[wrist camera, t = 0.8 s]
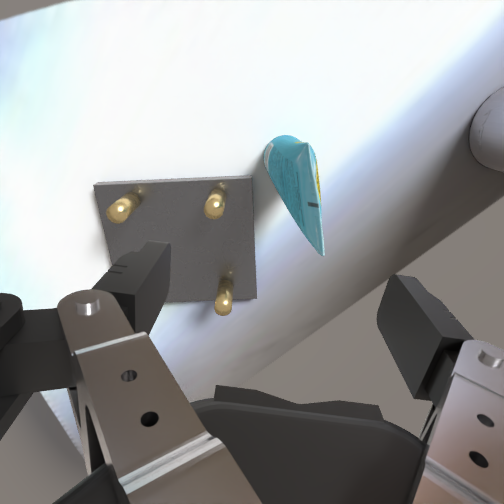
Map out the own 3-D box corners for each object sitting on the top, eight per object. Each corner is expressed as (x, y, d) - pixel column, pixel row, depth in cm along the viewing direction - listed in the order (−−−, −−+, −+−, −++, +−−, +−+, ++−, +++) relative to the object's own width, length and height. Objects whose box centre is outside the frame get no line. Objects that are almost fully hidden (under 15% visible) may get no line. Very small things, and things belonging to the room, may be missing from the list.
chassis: (251, 175, 40) (251, 189, 34) (256, 292, 46) (257, 321, 40) (98, 182, 40) (72, 197, 34) (125, 298, 46) (107, 327, 41)
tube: (312, 181, 40) (361, 247, 22) (272, 192, 40) (290, 265, 23) (297, 116, 37) (340, 133, 20) (254, 129, 38) (259, 158, 20)
